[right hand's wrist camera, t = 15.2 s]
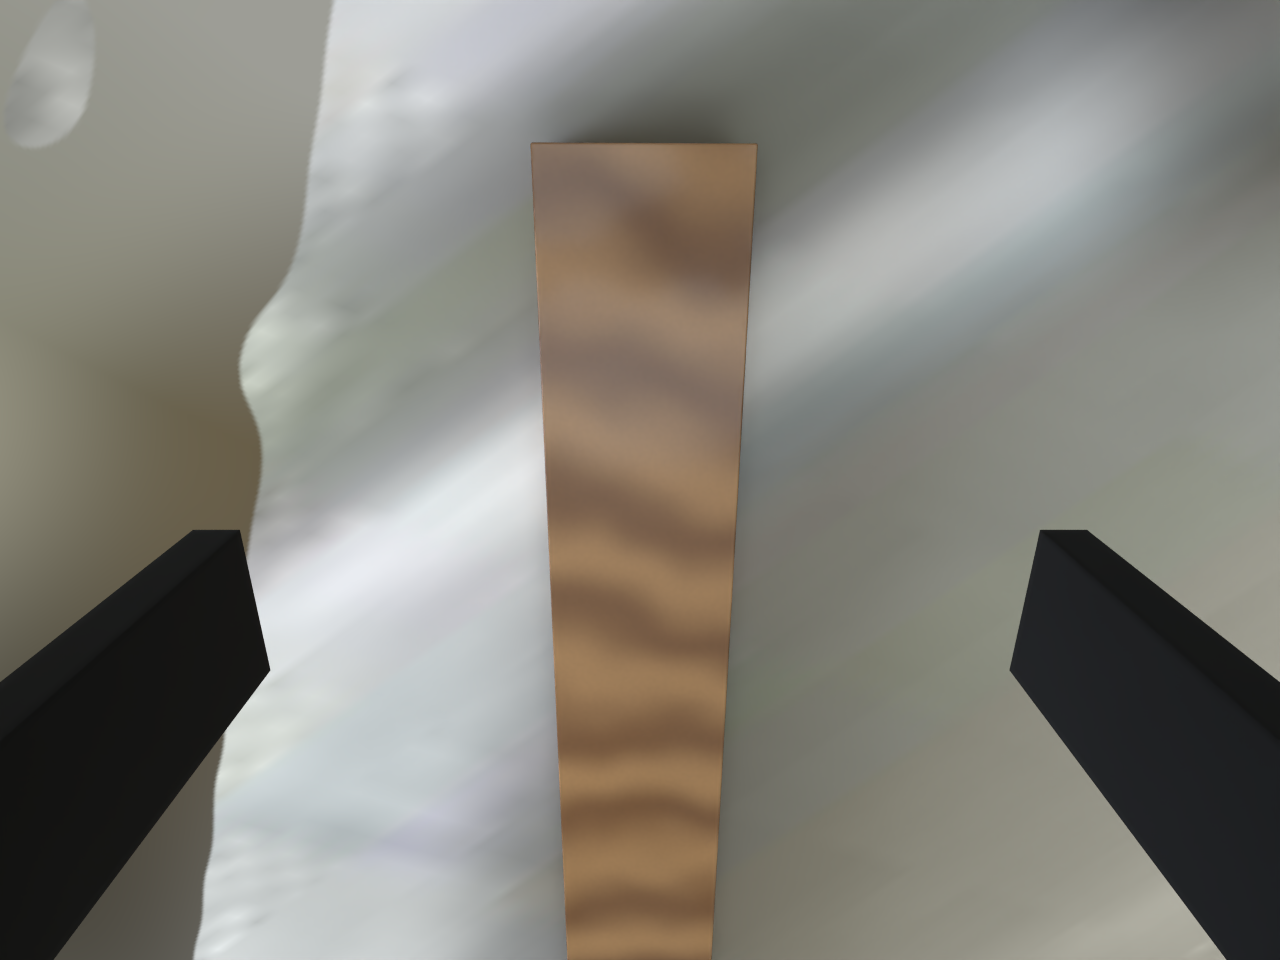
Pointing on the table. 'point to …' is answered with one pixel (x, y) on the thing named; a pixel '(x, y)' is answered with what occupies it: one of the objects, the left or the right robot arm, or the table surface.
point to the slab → (641, 520)
